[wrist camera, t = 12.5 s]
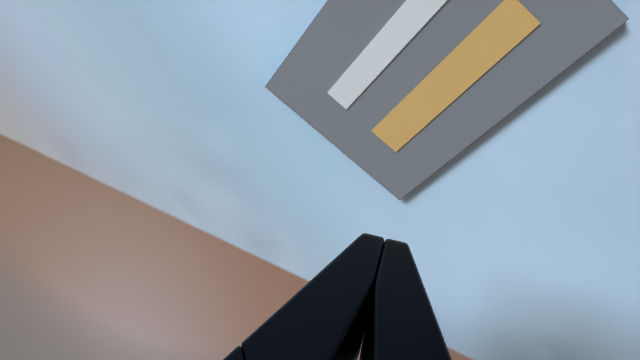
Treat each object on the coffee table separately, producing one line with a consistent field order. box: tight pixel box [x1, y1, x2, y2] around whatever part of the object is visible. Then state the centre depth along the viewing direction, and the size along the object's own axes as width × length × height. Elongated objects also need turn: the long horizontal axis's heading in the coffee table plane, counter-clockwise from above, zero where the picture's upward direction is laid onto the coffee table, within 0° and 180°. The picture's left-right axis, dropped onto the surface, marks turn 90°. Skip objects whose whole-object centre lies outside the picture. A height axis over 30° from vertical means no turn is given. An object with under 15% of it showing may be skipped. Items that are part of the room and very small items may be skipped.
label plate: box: [265, 0, 629, 200], centre depth 18 cm, size 12×9×1 cm
